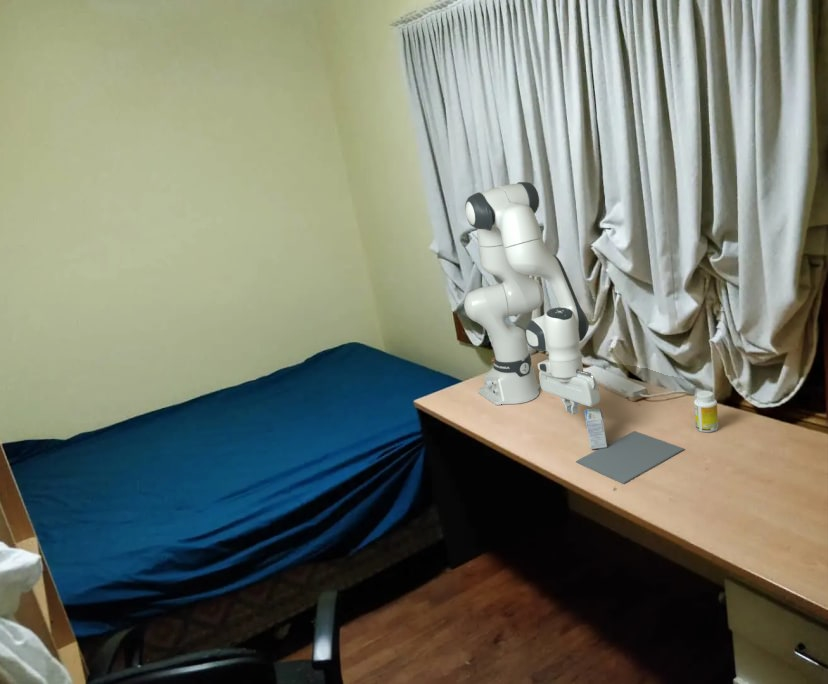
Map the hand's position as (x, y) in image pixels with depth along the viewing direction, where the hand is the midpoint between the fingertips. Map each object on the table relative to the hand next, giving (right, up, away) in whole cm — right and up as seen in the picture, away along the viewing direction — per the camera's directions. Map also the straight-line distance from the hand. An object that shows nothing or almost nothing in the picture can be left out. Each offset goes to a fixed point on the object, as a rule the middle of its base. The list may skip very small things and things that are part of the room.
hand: (571, 412), depth 178 cm
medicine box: (+6, -8, -6) cm, 11 cm away
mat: (+11, -10, -15) cm, 21 cm away
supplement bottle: (+34, -4, -9) cm, 35 cm away
